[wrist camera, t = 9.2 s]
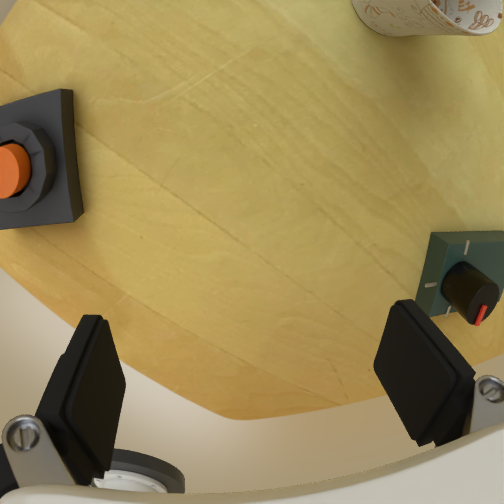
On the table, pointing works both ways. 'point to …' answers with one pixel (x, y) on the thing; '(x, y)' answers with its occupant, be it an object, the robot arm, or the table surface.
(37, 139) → the push button box
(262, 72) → the table surface
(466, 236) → the dial panel
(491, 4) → the mug
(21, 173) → the round orange button
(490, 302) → the dial
